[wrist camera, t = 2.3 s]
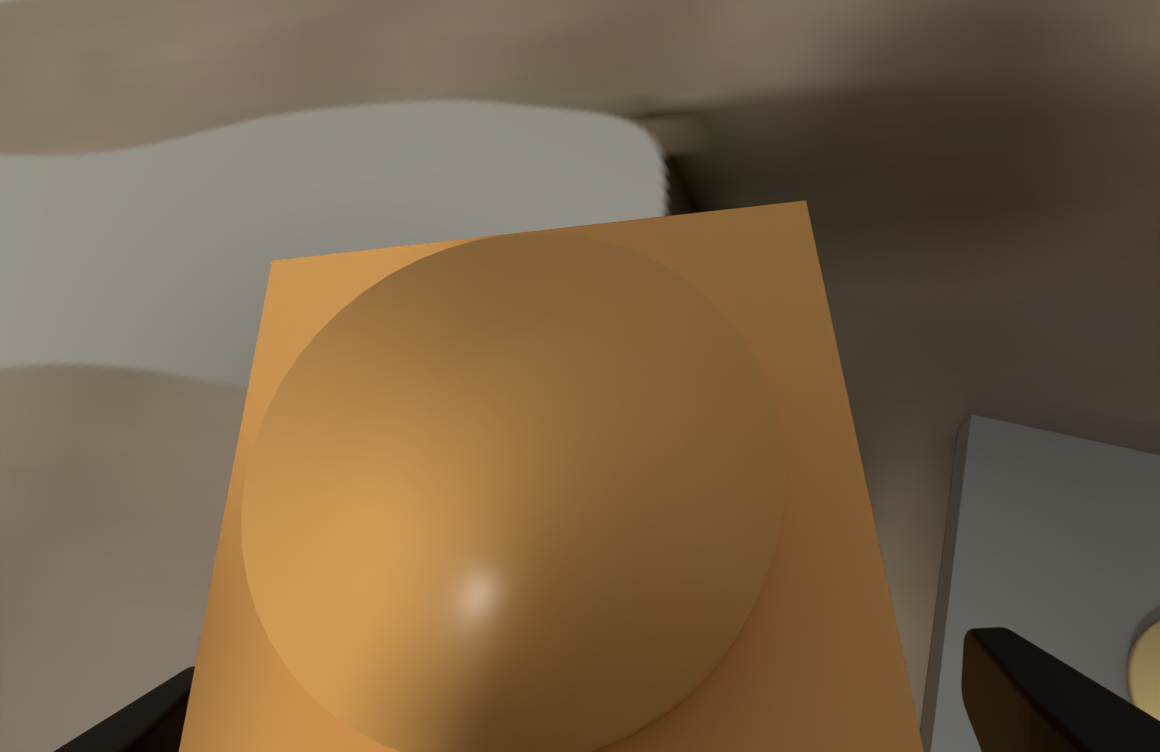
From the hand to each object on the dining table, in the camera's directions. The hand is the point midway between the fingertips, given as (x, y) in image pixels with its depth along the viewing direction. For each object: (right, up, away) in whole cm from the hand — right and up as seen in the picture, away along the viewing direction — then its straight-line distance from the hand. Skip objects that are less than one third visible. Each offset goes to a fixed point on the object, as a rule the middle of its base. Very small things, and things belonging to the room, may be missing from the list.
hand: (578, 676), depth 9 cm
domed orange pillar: (+1, -3, +9) cm, 9 cm away
